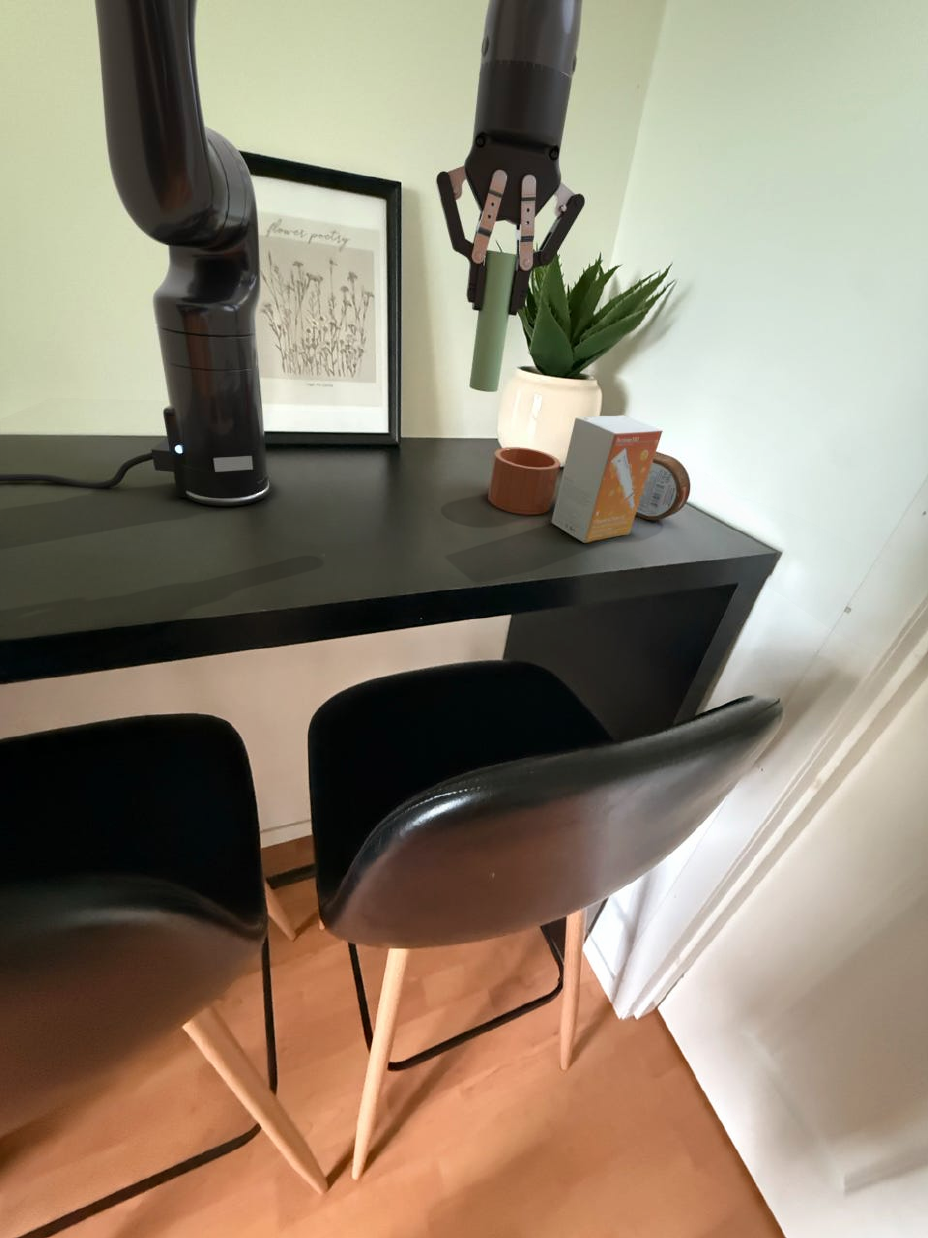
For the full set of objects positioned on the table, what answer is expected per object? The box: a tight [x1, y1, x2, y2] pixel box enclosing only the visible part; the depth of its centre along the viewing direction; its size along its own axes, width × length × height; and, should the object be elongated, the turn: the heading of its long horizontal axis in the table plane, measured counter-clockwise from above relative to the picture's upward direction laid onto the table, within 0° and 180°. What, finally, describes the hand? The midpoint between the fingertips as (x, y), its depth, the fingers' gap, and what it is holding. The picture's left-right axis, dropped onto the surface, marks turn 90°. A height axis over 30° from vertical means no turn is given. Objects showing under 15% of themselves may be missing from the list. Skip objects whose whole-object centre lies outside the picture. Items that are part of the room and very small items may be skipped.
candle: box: [469, 249, 518, 393], centre depth 55 cm, size 3×3×12 cm
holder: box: [487, 446, 562, 516], centre depth 72 cm, size 8×8×6 cm
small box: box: [550, 414, 664, 544], centre depth 65 cm, size 8×6×13 cm
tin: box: [635, 450, 691, 521], centre depth 74 cm, size 15×3×8 cm, turn 47°
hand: (493, 311), depth 54 cm, fingers closed on candle, 3 cm apart
